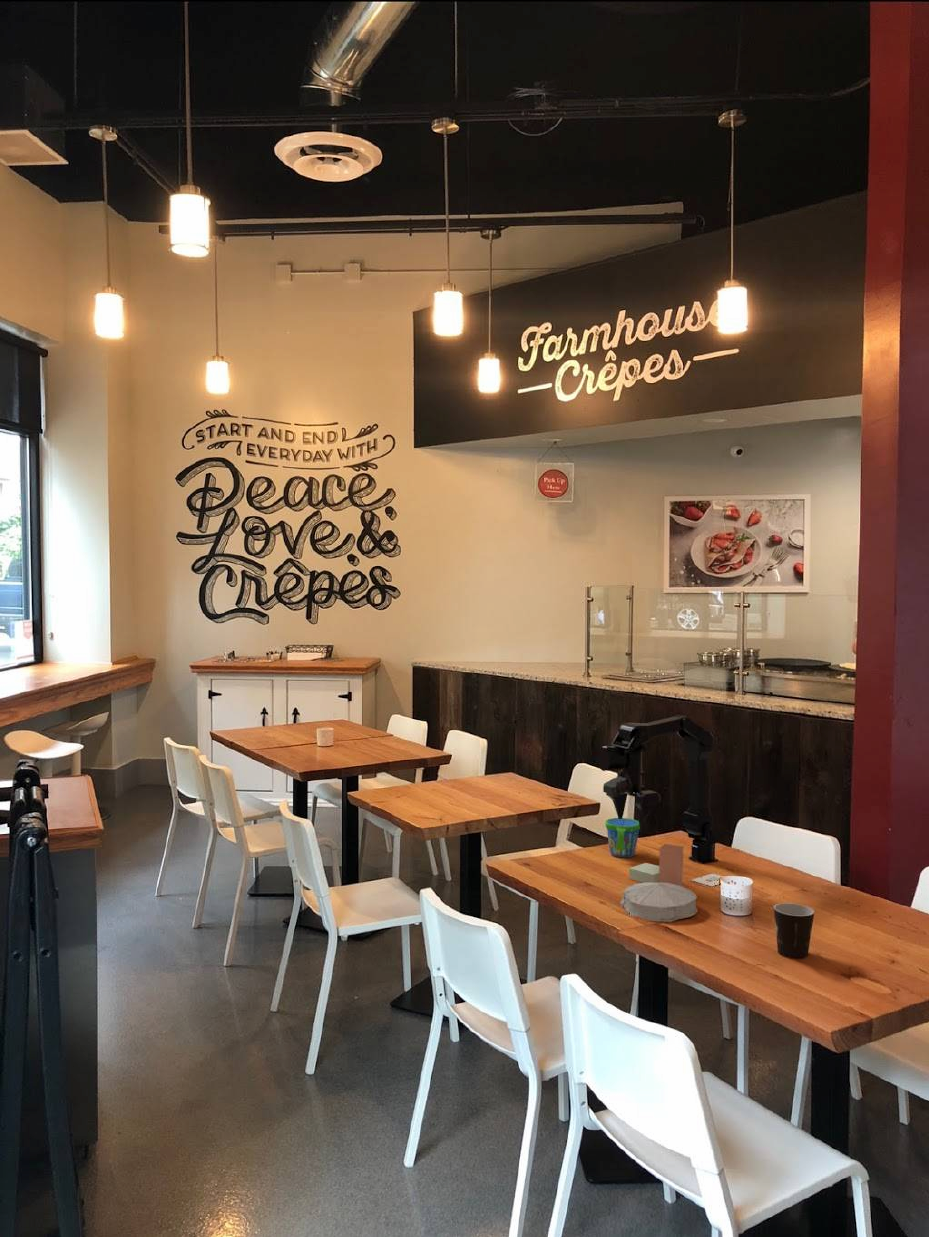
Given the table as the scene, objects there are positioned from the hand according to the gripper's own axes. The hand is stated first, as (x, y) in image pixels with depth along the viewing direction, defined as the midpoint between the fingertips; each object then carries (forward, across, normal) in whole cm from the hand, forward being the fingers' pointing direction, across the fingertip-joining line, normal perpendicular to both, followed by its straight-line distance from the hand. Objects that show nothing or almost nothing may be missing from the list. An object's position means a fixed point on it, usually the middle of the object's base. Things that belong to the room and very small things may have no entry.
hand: (630, 822), depth 274 cm
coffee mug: (+15, +65, -8) cm, 67 cm away
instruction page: (+15, +16, +16) cm, 27 cm away
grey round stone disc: (+15, +27, -13) cm, 33 cm away
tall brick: (+15, +18, -1) cm, 23 cm away
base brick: (+15, +7, +1) cm, 16 cm away
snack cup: (+15, -16, +10) cm, 24 cm away
